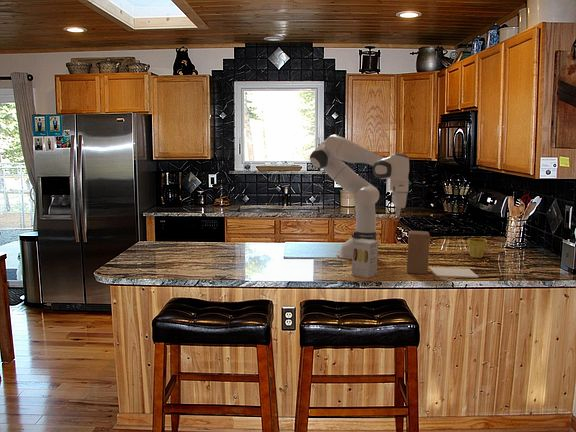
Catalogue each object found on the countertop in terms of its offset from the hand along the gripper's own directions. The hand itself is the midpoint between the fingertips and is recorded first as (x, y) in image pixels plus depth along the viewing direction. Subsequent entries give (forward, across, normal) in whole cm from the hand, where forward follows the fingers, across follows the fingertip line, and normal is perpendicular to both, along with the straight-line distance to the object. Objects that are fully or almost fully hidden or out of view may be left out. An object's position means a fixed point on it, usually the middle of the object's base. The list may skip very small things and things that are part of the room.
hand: (397, 214), depth 280 cm
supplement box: (+29, +9, -16) cm, 34 cm away
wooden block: (+29, 0, +11) cm, 31 cm away
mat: (+28, 0, +29) cm, 41 cm away
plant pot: (+29, -41, +52) cm, 72 cm away
